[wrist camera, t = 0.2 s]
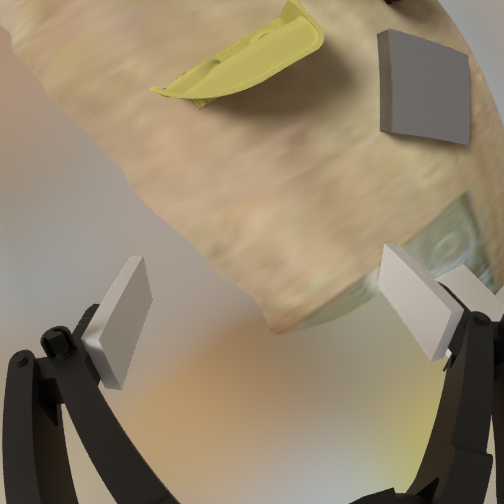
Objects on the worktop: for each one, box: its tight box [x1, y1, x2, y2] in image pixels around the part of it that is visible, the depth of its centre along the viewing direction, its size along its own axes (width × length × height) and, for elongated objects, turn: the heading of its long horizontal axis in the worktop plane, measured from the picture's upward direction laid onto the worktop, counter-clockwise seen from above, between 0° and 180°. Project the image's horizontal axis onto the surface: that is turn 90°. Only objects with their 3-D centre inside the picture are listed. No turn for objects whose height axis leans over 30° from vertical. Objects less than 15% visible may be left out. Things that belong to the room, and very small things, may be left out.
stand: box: [377, 29, 470, 145], centre depth 34 cm, size 16×16×4 cm
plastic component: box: [149, 0, 324, 109], centre depth 30 cm, size 20×7×10 cm, turn 126°
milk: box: [434, 264, 504, 358], centre depth 42 cm, size 12×12×26 cm
